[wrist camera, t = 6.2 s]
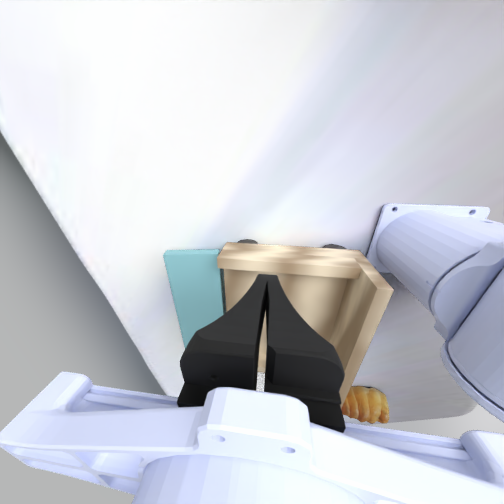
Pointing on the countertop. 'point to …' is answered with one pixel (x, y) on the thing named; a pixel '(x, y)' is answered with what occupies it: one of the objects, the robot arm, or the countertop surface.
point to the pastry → (366, 405)
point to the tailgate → (195, 288)
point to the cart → (315, 293)
